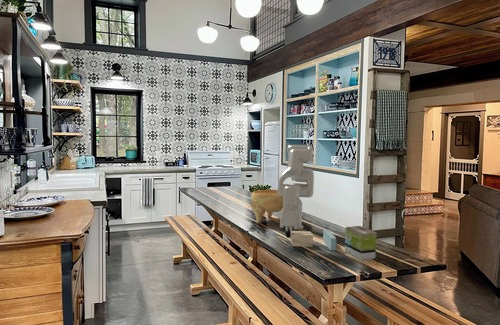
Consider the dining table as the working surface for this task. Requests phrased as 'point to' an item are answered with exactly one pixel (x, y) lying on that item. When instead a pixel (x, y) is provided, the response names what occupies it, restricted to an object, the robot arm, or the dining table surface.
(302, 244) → the maple brick
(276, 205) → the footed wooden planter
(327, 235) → the board
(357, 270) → the dining table surface
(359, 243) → the tea box
